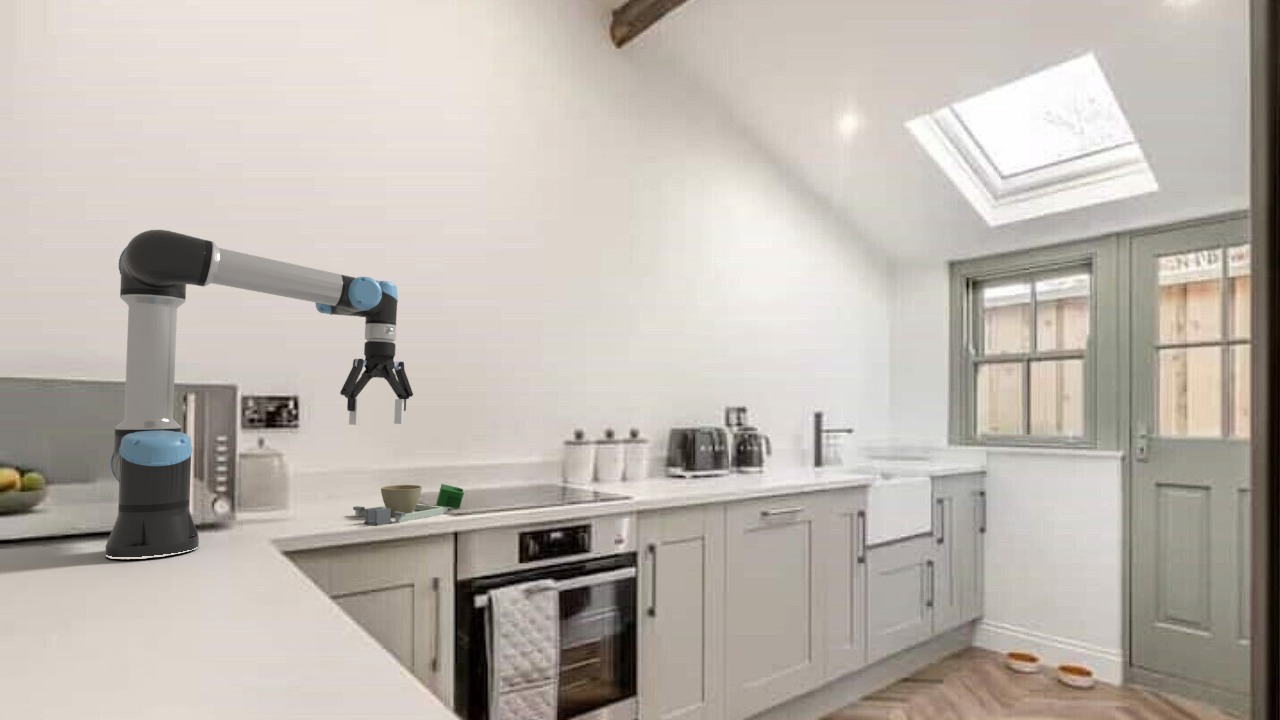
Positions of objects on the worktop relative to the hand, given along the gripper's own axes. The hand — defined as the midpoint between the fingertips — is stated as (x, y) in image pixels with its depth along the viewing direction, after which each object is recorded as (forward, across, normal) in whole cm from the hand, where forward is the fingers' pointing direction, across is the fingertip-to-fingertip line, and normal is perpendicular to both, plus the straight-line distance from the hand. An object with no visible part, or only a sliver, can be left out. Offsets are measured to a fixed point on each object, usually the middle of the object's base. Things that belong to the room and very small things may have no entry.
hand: (377, 424), depth 183 cm
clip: (+23, -6, -9) cm, 26 cm away
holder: (+23, +5, -4) cm, 24 cm away
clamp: (+23, +21, -5) cm, 32 cm away
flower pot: (+23, +5, -4) cm, 24 cm away
